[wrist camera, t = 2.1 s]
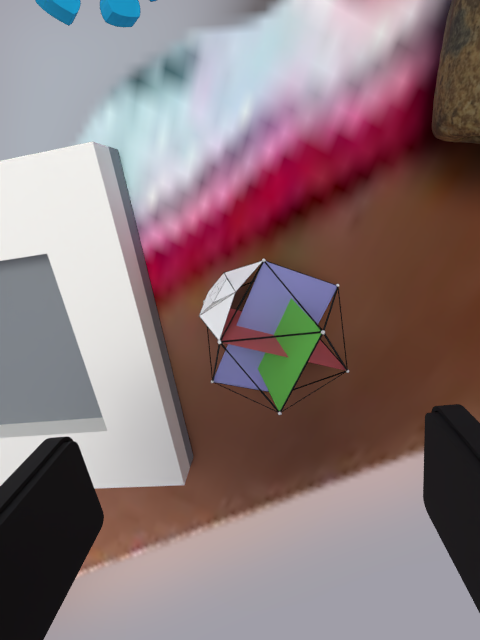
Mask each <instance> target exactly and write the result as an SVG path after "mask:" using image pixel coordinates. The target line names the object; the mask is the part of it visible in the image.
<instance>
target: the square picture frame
mask: <svg viewBox="0 0 480 640" xmlns="http://www.w3.org/2000/svg"><path fill="white" fill-rule="evenodd" d="M66 436H67V437H70V438H72V439H73V441H75V442H76V443H77V444H78V445H79V448H80V451H81V454H82V456H83V459H84V462H85V464H86V467H87V470H88V473H89V475H90V478H91V481H92V483H93V486H94V488H120V487H147V486H174V485H185V481H186V478H187V475H188V472H189V469H190V466H191V463H192V460H193V453H192V449H191V445H190V441H189V437H188V433H187V429H186V425H185V421H184V417H183V413H182V409H181V405H180V400H179V396H178V392H177V388H176V384H175V380H174V376H173V372H172V368H171V364H170V360H169V356H168V352H167V348H166V344H165V340H164V336H163V332H162V328H161V324H160V320H159V315H158V311H157V307H156V303H155V299H154V295H153V291H152V287H151V283H150V279H149V275H148V271H147V267H146V263H145V259H144V255H143V251H142V247H141V243H140V239H139V234H138V230H137V226H136V222H135V218H134V214H133V210H132V206H131V202H130V198H129V194H128V190H127V186H126V182H125V178H124V174H123V170H122V166H121V162H120V158H119V153H118V150H117V149H114V148H111V147H108V146H105V145H102V144H98V143H95V142H88V143H84V144H79V145H74V146H69V147H64V148H60V149H55V150H50V151H45V152H40V153H36V154H31V155H26V156H21V157H17V158H12V159H7V160H2V161H0V486H1V485H2V484H3V483H4V482H5V481H6V480H7V479H8V478H9V477H10V476H11V474H12V473H13V472H14V471H15V470H16V469H17V468H18V467H19V466H20V465H21V464H22V463H23V462H24V461H25V460H26V459H27V458H28V457H29V456H30V455H31V454H32V453H33V452H34V450H35V449H36V448H37V447H38V446H39V445H40V444H41V443H42V442H43V441H44V440H46V439H48V438H54V437H66Z"/></svg>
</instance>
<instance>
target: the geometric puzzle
mask: <svg viewBox="0 0 480 640" xmlns="http://www.w3.org/2000/svg"><path fill="white" fill-rule="evenodd" d="M260 264H261V265H260ZM259 265H260V267H259V269H258V271H257V272H256V274H255V276H254V278H253V280H252V282H250V283H247V284H250V285H249V287H248V289H247V291H246V293H245V294H244V296H243V298H242V300H241V302H240V304H239V305H238V307H237V309H236V310H235V309H231V305H232V302H233V299H234V296H235V293H236V291H237V290H238V289H239V288H240V287H242V286H245V285H247V284H245V285H242V284H243V283H244V282H245V281H246V280H247V279H248V278H249V276H250V275H251V274H252V273H253V272H254V271H255V270H256V269H257V267H258V266H259ZM258 272H259V273H258ZM257 274H258V275H257ZM256 276H257V278H256ZM255 278H256V280H255V281H254V279H255ZM253 282H254V285H253V287H252V289H251V292H250V294H249V296H248V299H247V301H246V304H245V306H244V308H243V311H239V310H238V309H239V307H240V305H241V303H242V302H243V300H244V298H245V296H246V294H247V292H248V290H249V289H250V287H251V285H252V283H253ZM338 287H339V284H336V285H335V284H332V283H329V282H326V281H323V280H320V279H317V278H314V277H311V276H308V275H305V274H303V273H300V272H297V271H294V270H291V269H288V268H285V267H282V266H279V265H276V264H273V263H271V262H268V261H266V260H265V259H262V261H260V262H257V263H253V264H250V265H247V266H244V267H240V268H237V269H234V270H231V271H228V272H224V273H223V275H222V276H221V277H220V278H219V279H218V281H217V282H216V283H215V284H214V285H213V287H212V288H211V289H210V290H209V292H208V294H207V297H206V299H205V300H204V301H203V303H204V304H203V307H202V309H201V312H200V315H199V317H200V318H201V319H202V321H203V322H204V323H205V324H206V326H207V332H208V328H209V330H210V331H211V332H212V333H213V335H214V336H215V337H216V338H217V340H218V344H219V346H218V351H217V357H216V363H215V368H214V374H213V377H212V380H211V383H216V384H217V383H220V384H226V385H232V386H237V387H243V388H249V389H255V390H260V391H261V393H262V394H263V395H264V396H265V397H266V399H267V400H268V401H269V402H270V403H271V404H272V406H273V407H274V408H275V409H276V410H277V411H278V415H281V414H282V413H281V411H282V410H283V408H284V406H285V404H286V402H287V400H288V398H289V397H290V395H291V393H292V391H293V390H295V389H298V388H301V387H304V386H307V385H310V384H313V383H315V382H318V381H321V380H324V379H327V378H330V377H333V376H336V375H338V374H341V373H343V374H344V373H345V372H347V373H349V370H348V369H347V368H346V366H347V360H346V366H345V365H344V363H343V361H342V360H341V358H340V357H339V355H338V353H337V352H336V350H335V349H334V347H333V345H332V344H331V342H330V341H329V339H328V337H327V336H326V334H325V331H324V330H325V327H326V324H327V321H328V318H329V315H330V312H331V309H332V305H333V302H334V299H335V296H336V293H337V290H338V294H339V288H338ZM334 294H335V295H334ZM333 295H334V298H333V301H332V304H331V307H330V310H329V313H328V316H327V319H326V322H325V325H324V328H323V330H322V329H321V328H320V327H319V325H318V323H319V322H320V320H321V318H322V316H323V314H324V312H325V310H326V308H327V306H328V304H329V302H330V301H331V299H332V297H333ZM339 303H340V297H339ZM340 312H341V306H340ZM341 321H342V315H341ZM342 330H343V324H342ZM323 334H324V336H325V338H326V339H327V341H328V342H329V344H330V346H331V347H332V349H333V350H334V352H335V353H336V355H337V357H338V358H339V359H338V358H337V357H336V356H335V355H334V354H333V353H332V352H331V350H330V349H329V348H328V347H327V346H326V345H325V344H324V343H323V341H322V340H321V337H322V335H323ZM343 339H344V333H343ZM208 343H209V336H208ZM222 343H226V344H228V346H227V348H225V347H224V345H223V344H222ZM220 344H221V345H222V347H223V348H224V349H225V350H226V351H225V353H224V356H223V358H222V360H221V363H220V365H219V367H218V370H217V372H216V374H215V370H216V364H217V359H218V353H219V348H220ZM344 348H345V342H344ZM209 353H210V346H209ZM345 357H346V351H345ZM340 361H341V362H340ZM308 362H310V363H315V364H319V365H323V366H328V367H332V368H337V369H341V370H346V371H344V372H341V373H338V374H335V375H333V376H330V377H327V378H324V379H321V380H318V381H315V382H313V383H310V384H307V385H304V386H301V387H298V388H295V389H294V387H295V385H296V383H297V382H298V380H299V378H300V376H301V374H302V372H303V370H304V369H305V367H306V365H307V363H308ZM210 363H211V357H210ZM211 373H212V367H211ZM214 375H215V377H214ZM341 375H342V374H341ZM341 375H340V376H341ZM338 377H339V376H338ZM336 378H337V377H336ZM336 378H335V379H336ZM333 380H334V379H333ZM330 382H331V381H330ZM328 383H329V382H328ZM328 383H327V384H328ZM218 385H219V384H218ZM325 385H326V384H325ZM220 386H221V385H220ZM323 386H324V385H323ZM323 386H322V387H323ZM222 387H223V386H222ZM224 388H226V387H224ZM320 388H321V387H320ZM320 388H319V389H320ZM227 389H228V388H227ZM229 390H230V389H229ZM317 390H318V389H317ZM231 391H232V390H231ZM262 391H266V392H269V393H270V395H271V397H272V399H273V401H274V403H275V405H276V407H277V408H276V407H275V406H274V405H273V403H272V402H271V401H270V400H269V399H268V397H267V396H266V395H265V394H264V393H263V392H262ZM315 391H316V390H315ZM315 391H314V392H315ZM233 392H234V391H233ZM235 393H236V392H235ZM312 393H313V392H312ZM312 393H311V394H312ZM237 394H238V393H237ZM239 395H241V394H239ZM309 395H310V394H309ZM242 396H243V395H242ZM307 396H308V395H307ZM307 396H306V397H307ZM244 397H245V396H244ZM246 398H247V397H246ZM304 398H305V397H304ZM304 398H303V399H304ZM248 399H249V398H248ZM250 400H251V399H250ZM301 400H302V399H301ZM252 401H254V400H252ZM299 401H300V400H299ZM299 401H298V402H299ZM254 402H256V401H254ZM257 403H258V402H257ZM296 403H297V402H296ZM296 403H295V404H296ZM259 404H260V403H259ZM261 405H262V404H261ZM293 405H294V404H293ZM263 406H264V405H263ZM291 406H292V405H291ZM291 406H290V407H291ZM265 407H266V406H265ZM267 408H269V407H267ZM288 408H289V407H288ZM288 408H287V409H288ZM269 409H271V408H269ZM272 410H273V409H272ZM285 410H286V409H285ZM274 411H275V410H274ZM277 411H276V412H277ZM283 411H284V410H283ZM283 411H282V412H283Z"/></svg>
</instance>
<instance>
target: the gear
mask: <svg viewBox="0 0 480 640" xmlns="http://www.w3.org/2000/svg"><path fill="white" fill-rule="evenodd" d="M150 1H151V2H152V1H156V0H150ZM36 3H37V4H38V5H39V6H40V7H41V8H42V9H43V10H45V11H46V12H47V13H48V14H50V15H51V16H53V17H54V18H56V19H58V20H59V21H61V22H63V23H65V24H67V25H70V24H72V22H73V21H74V19H75V17H76V14H77V13H78V10H79V8H80V0H36ZM100 10H101V14H102V16H103V18H104V20H105V22H107V23H109V24H111V25H114V26H117V27H132V26H133V25H134V23H135V22H136V21H137V19H138V18H139V16H140V5H139V1H138V0H100Z"/></svg>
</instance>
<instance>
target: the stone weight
mask: <svg viewBox="0 0 480 640" xmlns="http://www.w3.org/2000/svg"><path fill="white" fill-rule="evenodd" d="M432 132H433V134H434V136H435V137H436V138H438V139H441V140H443V141H450V142H465V143H476V144H480V0H452V1H451V5H450V9H449V12H448V16H447V21H446V27H445V31H444V37H443V45H442V49H441V53H440V63H439V68H438V73H437V82H436V88H435V94H434V102H433V116H432Z"/></svg>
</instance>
